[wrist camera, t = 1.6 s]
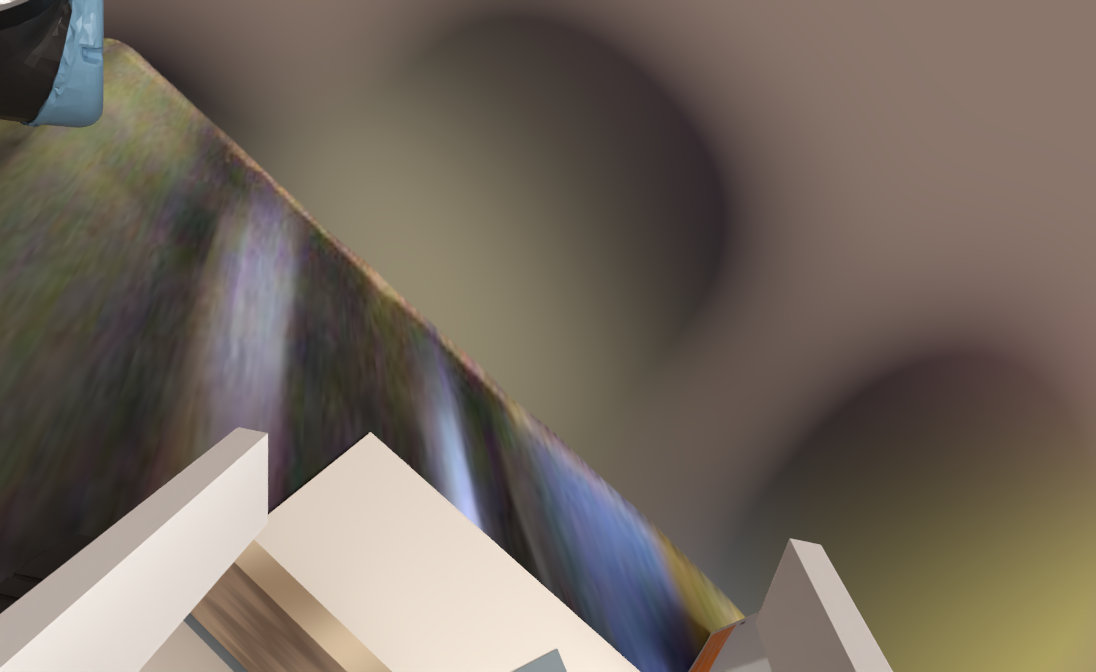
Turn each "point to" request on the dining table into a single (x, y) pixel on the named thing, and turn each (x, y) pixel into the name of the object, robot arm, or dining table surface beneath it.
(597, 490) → the dining table surface
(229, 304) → the dining table surface
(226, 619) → the panel
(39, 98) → the robot arm
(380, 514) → the card
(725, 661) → the skincare box
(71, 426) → the dining table surface
